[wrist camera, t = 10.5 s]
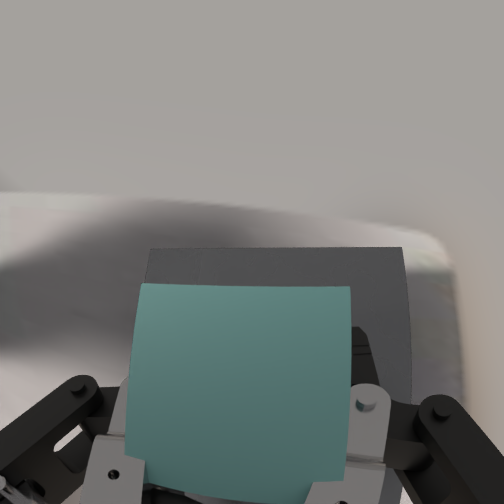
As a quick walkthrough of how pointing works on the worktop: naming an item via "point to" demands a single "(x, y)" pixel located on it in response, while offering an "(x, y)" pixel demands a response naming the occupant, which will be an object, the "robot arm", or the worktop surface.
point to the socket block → (315, 275)
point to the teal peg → (240, 389)
